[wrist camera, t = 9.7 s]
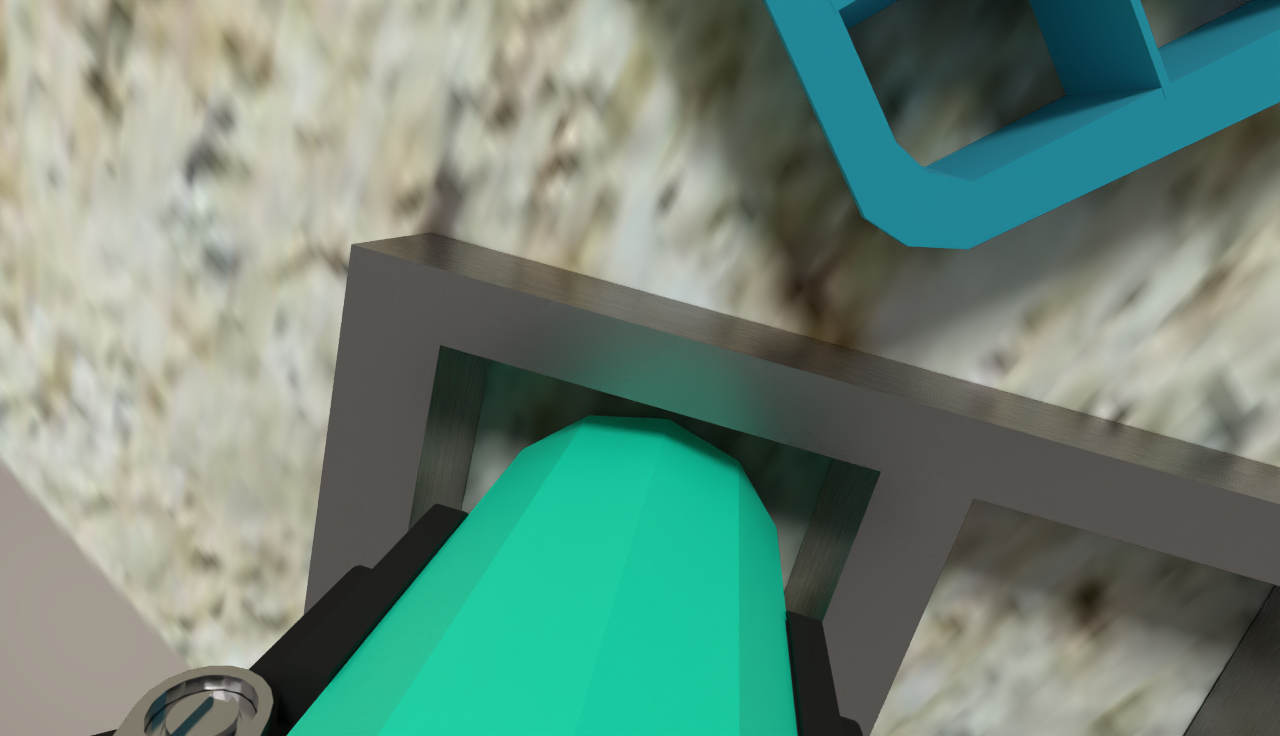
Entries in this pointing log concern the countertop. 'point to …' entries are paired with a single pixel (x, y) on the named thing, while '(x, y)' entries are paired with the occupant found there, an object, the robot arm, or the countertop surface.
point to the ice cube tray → (1047, 138)
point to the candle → (586, 604)
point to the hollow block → (783, 412)
